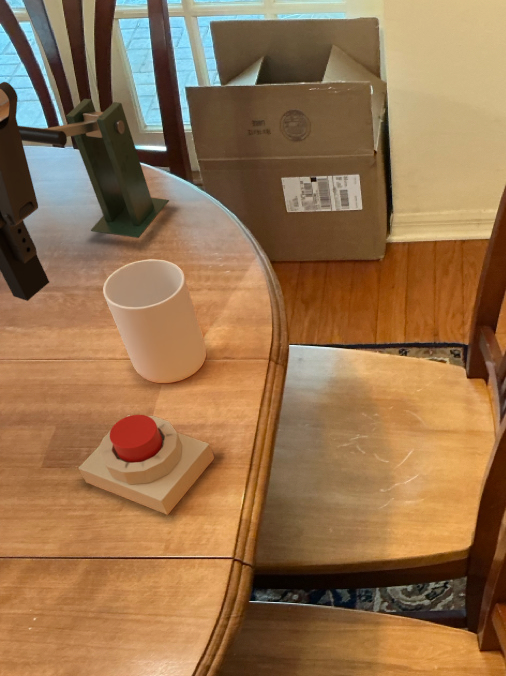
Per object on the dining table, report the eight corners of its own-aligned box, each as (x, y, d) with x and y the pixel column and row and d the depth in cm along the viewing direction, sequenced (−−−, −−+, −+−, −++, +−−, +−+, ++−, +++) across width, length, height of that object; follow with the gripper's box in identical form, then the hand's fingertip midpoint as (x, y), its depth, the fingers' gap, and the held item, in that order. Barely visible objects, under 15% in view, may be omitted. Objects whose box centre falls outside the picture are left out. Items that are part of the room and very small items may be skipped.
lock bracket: (141, 246, 100) (101, 130, 88) (93, 239, 101) (47, 124, 89) (171, 208, 105) (137, 94, 93) (125, 202, 106) (86, 88, 94)
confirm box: (85, 482, 76) (70, 455, 73) (135, 429, 81) (122, 401, 77) (168, 515, 74) (155, 488, 70) (214, 458, 78) (205, 430, 75)
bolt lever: (60, 151, 83) (56, 126, 82) (16, 146, 84) (11, 121, 83) (127, 136, 94) (124, 114, 93) (87, 131, 95) (84, 109, 94)
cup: (132, 389, 84) (99, 313, 76) (137, 320, 91) (107, 244, 83) (208, 379, 85) (184, 303, 76) (207, 312, 92) (185, 234, 83)
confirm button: (107, 454, 74) (99, 439, 72) (135, 424, 76) (128, 409, 74) (144, 468, 72) (137, 453, 71) (171, 437, 75) (165, 422, 73)
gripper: (-271, -48, 44) (-61, 295, 63) (-107, -14, 41) (63, 338, 60) (-166, -90, 48) (3, 245, 67) (-7, -62, 45) (123, 283, 64)
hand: (31, 288), depth 64 cm, fingers closed
